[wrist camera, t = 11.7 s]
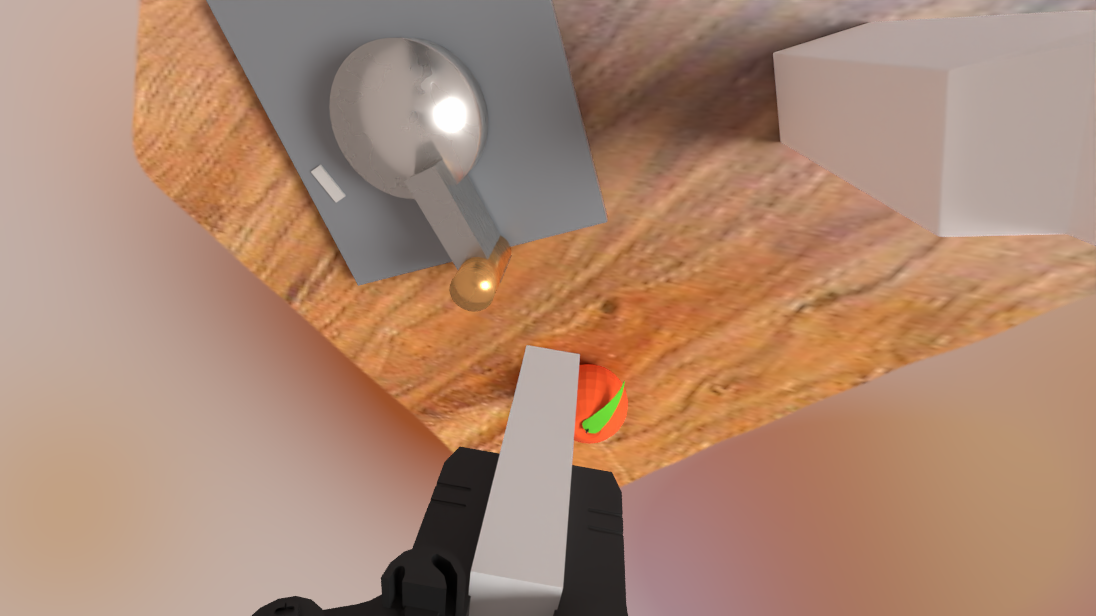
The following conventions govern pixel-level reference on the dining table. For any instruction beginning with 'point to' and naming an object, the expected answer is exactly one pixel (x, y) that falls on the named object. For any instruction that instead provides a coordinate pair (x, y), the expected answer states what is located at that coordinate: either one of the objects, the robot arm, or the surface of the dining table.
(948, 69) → the milk
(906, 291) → the dining table surface
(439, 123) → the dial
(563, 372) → the robot arm
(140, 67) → the dining table surface
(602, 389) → the clementine
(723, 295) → the dining table surface
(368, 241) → the plate
